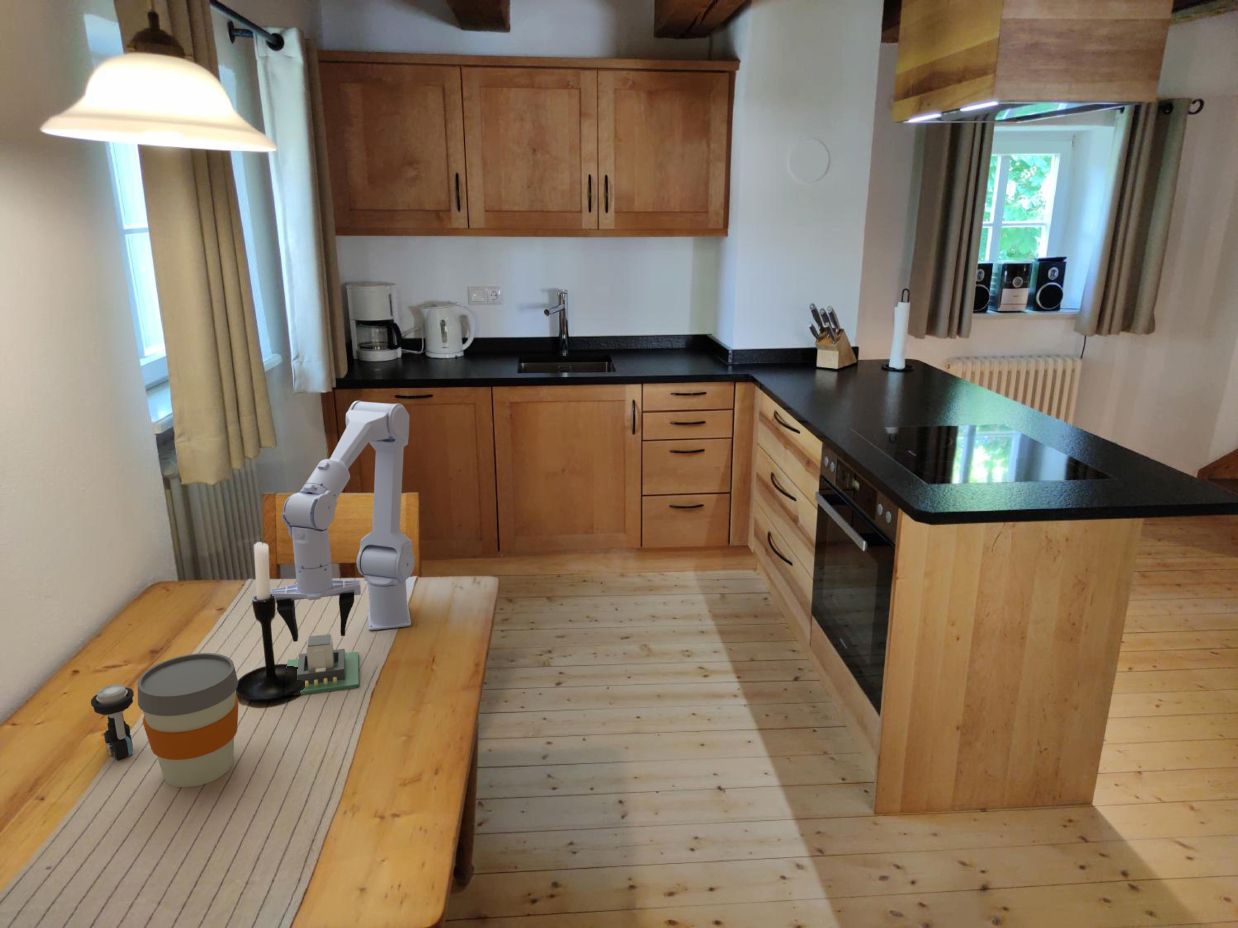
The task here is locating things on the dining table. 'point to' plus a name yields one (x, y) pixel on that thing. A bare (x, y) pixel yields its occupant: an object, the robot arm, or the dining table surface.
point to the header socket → (328, 673)
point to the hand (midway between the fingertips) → (319, 636)
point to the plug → (320, 652)
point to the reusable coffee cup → (191, 716)
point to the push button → (115, 718)
